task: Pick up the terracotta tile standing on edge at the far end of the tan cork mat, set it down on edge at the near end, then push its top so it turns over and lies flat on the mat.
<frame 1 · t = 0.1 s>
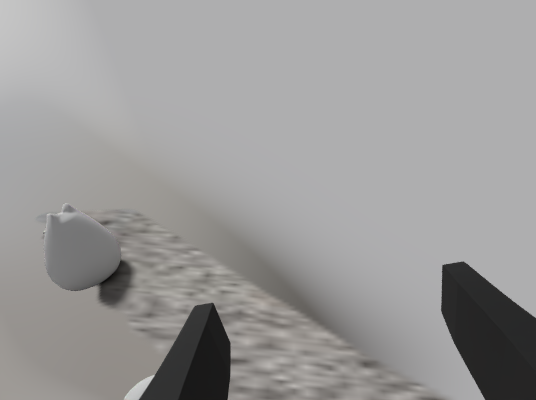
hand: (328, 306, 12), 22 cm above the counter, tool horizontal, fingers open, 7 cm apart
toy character: (94, 276, 58), on the counter
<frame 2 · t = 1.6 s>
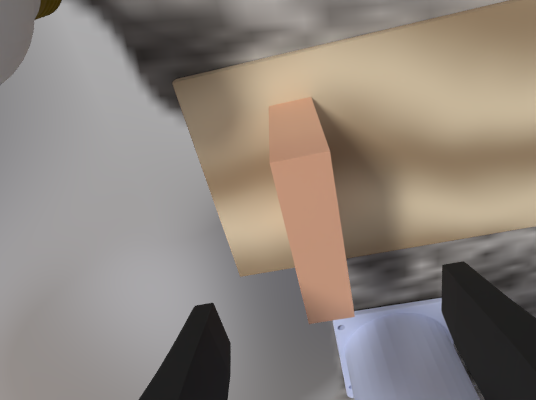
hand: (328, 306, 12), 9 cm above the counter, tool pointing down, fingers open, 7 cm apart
mat: (379, 155, 20), on the counter
tile: (304, 176, 19), point 1 cm above the counter, touching mat
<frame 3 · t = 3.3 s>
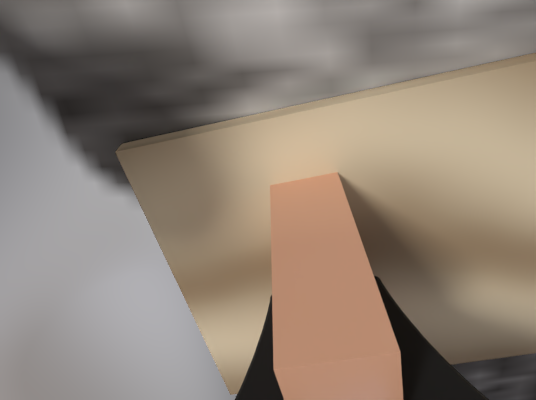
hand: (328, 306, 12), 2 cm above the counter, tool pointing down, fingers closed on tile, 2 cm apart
mat: (434, 246, 13), on the counter
tile: (323, 277, 13), point 1 cm above the counter, touching gripper, mat
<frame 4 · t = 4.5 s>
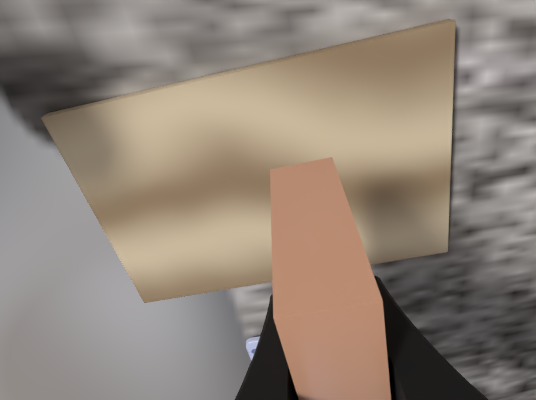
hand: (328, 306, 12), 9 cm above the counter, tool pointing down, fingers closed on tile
mat: (266, 186, 19), on the counter
tile: (319, 258, 14), point 6 cm above the counter, touching gripper
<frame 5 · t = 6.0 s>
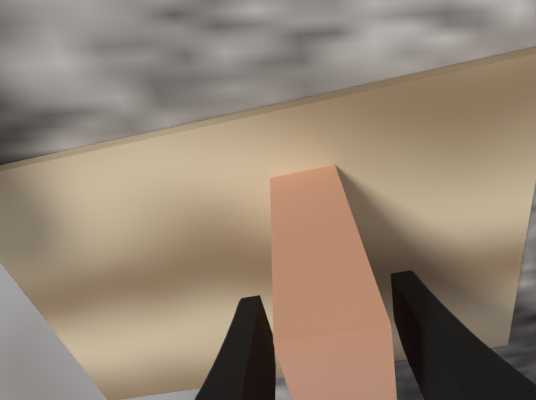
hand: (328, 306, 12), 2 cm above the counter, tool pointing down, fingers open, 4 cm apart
mat: (266, 266, 14), on the counter
tile: (321, 268, 14), point 1 cm above the counter, touching mat
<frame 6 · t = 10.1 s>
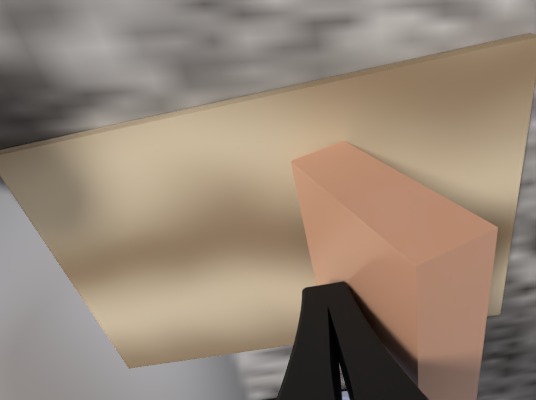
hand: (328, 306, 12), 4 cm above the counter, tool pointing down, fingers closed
mat: (279, 237, 16), on the counter
tile: (332, 244, 15), point 1 cm above the counter, tilted 21°, touching mat
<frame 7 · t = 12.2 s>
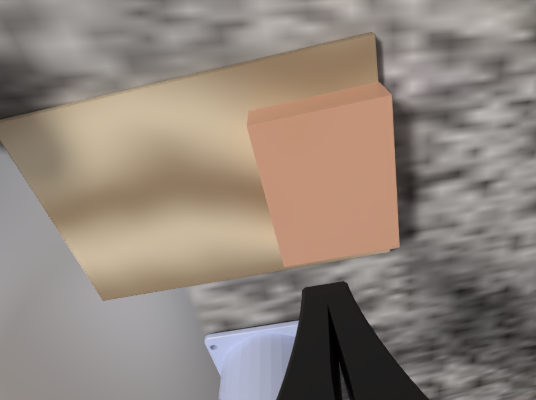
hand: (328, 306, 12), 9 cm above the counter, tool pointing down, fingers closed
mat: (212, 189, 20), on the counter
tile: (267, 194, 19), point 2 cm above the counter, tilted 90°, touching mat
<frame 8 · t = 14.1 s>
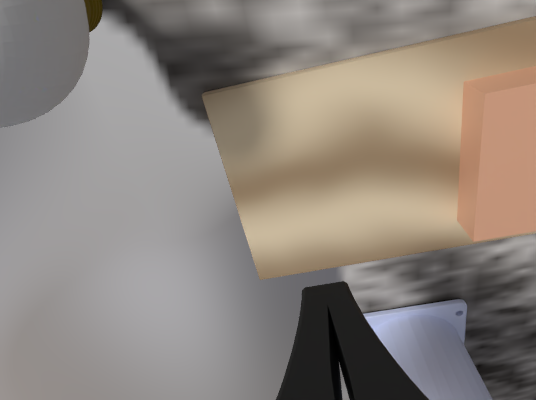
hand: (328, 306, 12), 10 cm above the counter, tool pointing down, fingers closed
mat: (397, 164, 20), on the counter
tile: (468, 166, 19), point 2 cm above the counter, tilted 90°, touching mat
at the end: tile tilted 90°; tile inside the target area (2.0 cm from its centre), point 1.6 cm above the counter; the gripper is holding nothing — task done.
